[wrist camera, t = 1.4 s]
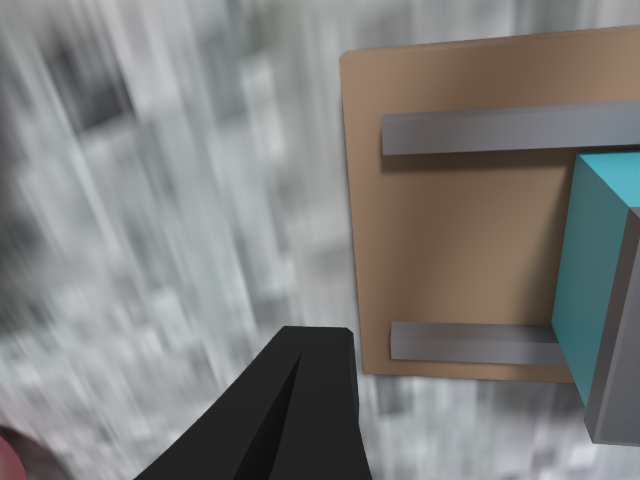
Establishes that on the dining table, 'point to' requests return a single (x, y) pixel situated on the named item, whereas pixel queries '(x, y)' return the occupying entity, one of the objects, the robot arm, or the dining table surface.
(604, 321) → the fader tab
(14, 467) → the decorative fruit
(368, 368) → the fader console
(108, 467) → the dining table surface
